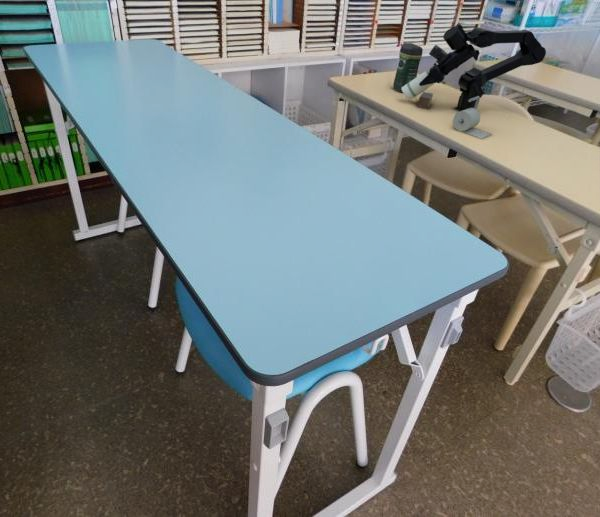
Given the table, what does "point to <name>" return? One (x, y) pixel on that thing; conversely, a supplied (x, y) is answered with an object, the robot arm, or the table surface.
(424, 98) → the wooden block
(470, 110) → the toilet paper roll
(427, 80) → the robot arm
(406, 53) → the coffee jar
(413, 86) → the cylindrical container with lid
